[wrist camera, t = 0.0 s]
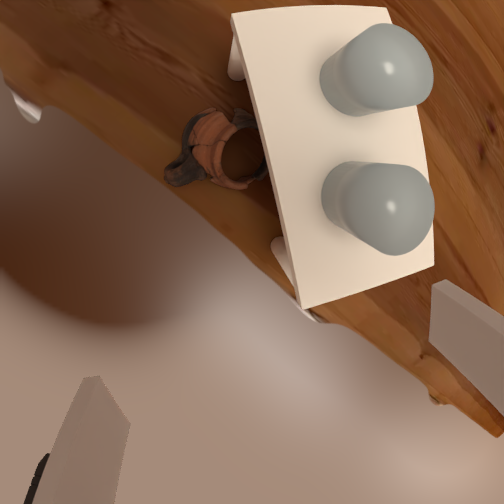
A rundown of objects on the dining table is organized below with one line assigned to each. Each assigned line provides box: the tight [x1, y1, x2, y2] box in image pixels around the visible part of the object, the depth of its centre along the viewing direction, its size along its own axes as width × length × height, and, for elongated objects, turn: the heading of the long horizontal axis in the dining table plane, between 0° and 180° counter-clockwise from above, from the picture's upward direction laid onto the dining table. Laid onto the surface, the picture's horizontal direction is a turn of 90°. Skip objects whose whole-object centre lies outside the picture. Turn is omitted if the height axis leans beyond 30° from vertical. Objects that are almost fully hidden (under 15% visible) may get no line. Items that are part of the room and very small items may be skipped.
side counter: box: [227, 5, 434, 310], centre depth 29 cm, size 25×14×14 cm, turn 13°
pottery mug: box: [164, 108, 269, 190], centre depth 32 cm, size 12×10×8 cm
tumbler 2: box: [321, 161, 434, 256], centre depth 20 cm, size 6×6×7 cm
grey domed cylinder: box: [319, 23, 433, 117], centre depth 18 cm, size 6×6×7 cm
